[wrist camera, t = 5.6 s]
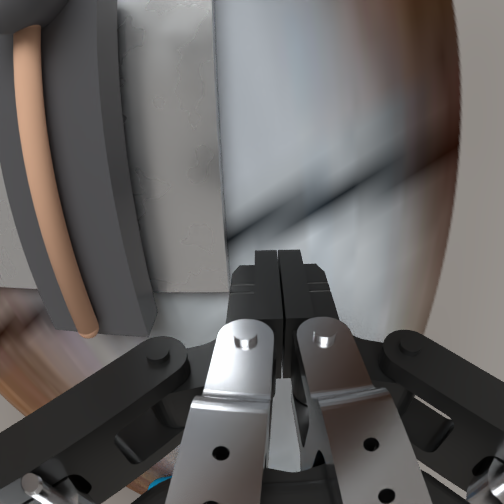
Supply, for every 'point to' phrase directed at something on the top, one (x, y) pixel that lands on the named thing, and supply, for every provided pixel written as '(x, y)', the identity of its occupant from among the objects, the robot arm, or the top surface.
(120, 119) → the cable arm
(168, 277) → the panel
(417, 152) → the top surface
